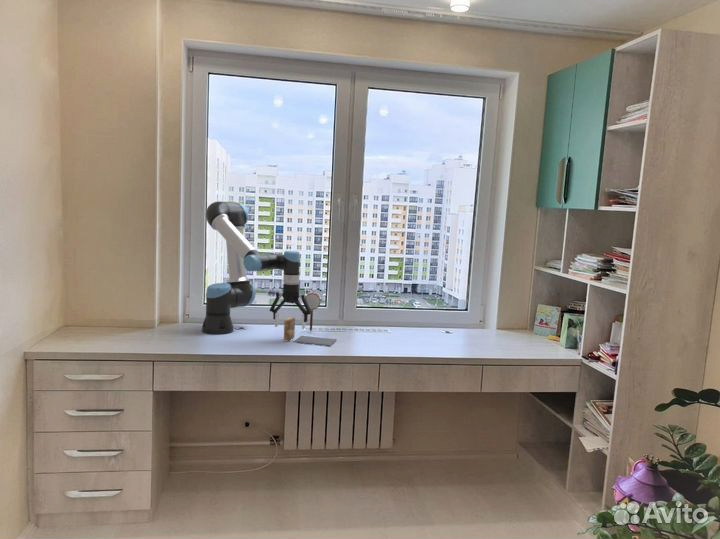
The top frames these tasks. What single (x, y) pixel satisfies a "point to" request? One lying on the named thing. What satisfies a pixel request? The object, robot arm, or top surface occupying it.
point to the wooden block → (289, 328)
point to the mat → (315, 340)
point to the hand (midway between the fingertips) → (290, 327)
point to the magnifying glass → (312, 304)
